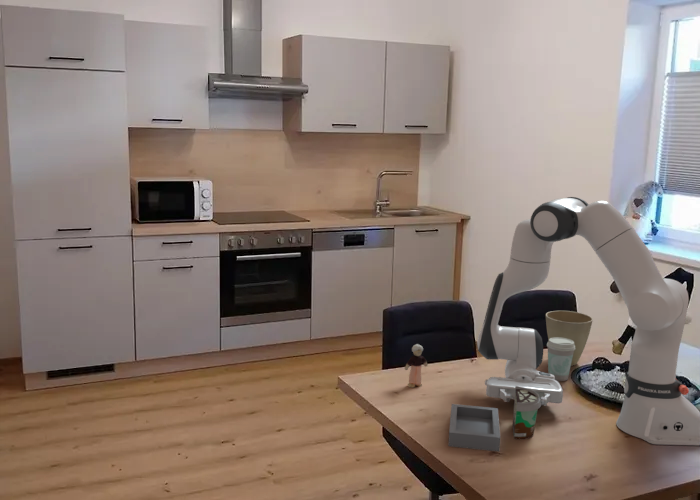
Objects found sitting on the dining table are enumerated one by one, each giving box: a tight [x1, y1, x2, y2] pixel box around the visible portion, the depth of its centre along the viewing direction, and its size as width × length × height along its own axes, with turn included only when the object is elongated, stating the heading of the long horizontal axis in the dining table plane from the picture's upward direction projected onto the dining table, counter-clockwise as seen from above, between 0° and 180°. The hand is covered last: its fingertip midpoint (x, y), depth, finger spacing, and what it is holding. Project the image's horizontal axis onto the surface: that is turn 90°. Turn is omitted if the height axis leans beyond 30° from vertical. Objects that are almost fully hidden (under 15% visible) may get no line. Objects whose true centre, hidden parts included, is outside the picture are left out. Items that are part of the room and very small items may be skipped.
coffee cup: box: [546, 337, 575, 382], centre depth 212 cm, size 8×8×12 cm
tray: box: [448, 403, 501, 452], centre depth 171 cm, size 12×18×4 cm, turn 170°
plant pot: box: [545, 310, 594, 367], centre depth 227 cm, size 15×15×16 cm
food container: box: [512, 386, 542, 440], centre depth 172 cm, size 12×6×10 cm, turn 168°
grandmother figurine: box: [404, 343, 428, 388], centre depth 202 cm, size 8×4×13 cm, turn 129°
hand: (525, 400), depth 179 cm, fingers open, 8 cm apart
